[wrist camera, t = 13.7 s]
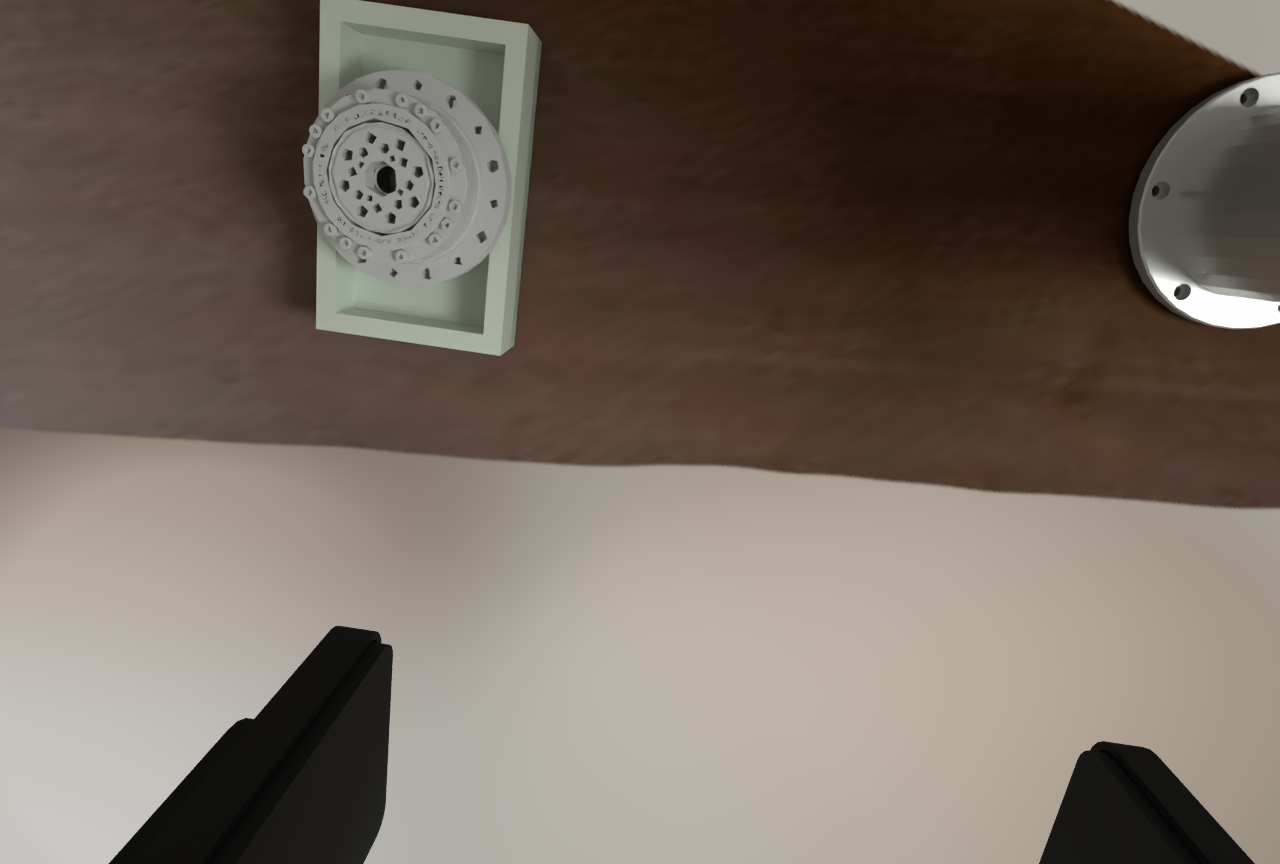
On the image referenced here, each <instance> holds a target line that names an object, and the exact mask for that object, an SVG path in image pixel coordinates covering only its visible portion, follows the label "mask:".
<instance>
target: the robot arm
mask: <svg viewBox="0 0 1280 864" xmlns="http://www.w3.org/2000/svg"><path fill="white" fill-rule="evenodd" d="M1153 188H1154V193H1153V195H1152V189H1153ZM1129 243H1130V248H1131V252H1132V257H1133V261H1134V264H1135V267H1136V269H1137V271H1138V273H1139V275H1140V277H1141V279H1142V281H1143V283H1144V284H1145V286H1146V287H1147V288H1148V290H1149V291H1150V292H1151V293H1152V295H1153V296H1154V297H1155V298H1156V299H1157V300H1158V301H1159V302H1160V303H1162V304H1163V305H1164V306H1165V307H1167V308H1168V309H1169V310H1170V311H1172V312H1173V313H1176V314H1178V315H1180V316H1182V317H1184V318H1186V319H1188V320H1190V321H1193V322H1197V323H1201V324H1205V325H1209V326H1214V327H1221V328H1228V329H1252V328H1261V327H1265V326H1270V325H1275V324H1279V323H1280V73H1274V74H1268V75H1263V76H1259V77H1256V78H1252V79H1249V80H1245V81H1241V82H1238V83H1236V84H1234V85H1232V86H1230V87H1227V88H1225V89H1223V90H1221V91H1218V92H1216V93H1214V94H1213V95H1211V96H1210V97H1208V98H1207V99H1205V100H1204V101H1202V102H1201V103H1199V104H1198V105H1196V106H1195V107H1193V108H1192V109H1191V110H1189V111H1188V112H1187V113H1186V114H1185V115H1184V116H1183V117H1182V118H1181V119H1180V120H1179V121H1177V122H1176V123H1175V124H1174V125H1173V126H1172V127H1171V128H1170V129H1169V131H1168V132H1167V133H1166V135H1165V136H1164V137H1163V138H1162V140H1161V141H1160V142H1159V143H1158V145H1157V146H1156V147H1155V148H1154V150H1153V152H1152V154H1151V155H1150V157H1149V159H1148V161H1147V163H1146V164H1145V166H1144V168H1143V170H1142V172H1141V174H1140V177H1139V180H1138V183H1137V185H1136V188H1135V191H1134V194H1133V198H1132V204H1131V209H1130V215H1129ZM1174 290H1175V292H1174ZM392 661H393V650H392V646H391V645H388V644H381V637H380V634H379V633H378V632H376V631H369V630H363V629H356V628H350V627H343V626H335V627H334V628H332V629H331V630H330V631H329V633H328V634H327V635H326V636H325V637H324V638H323V639H322V641H321V642H320V643H319V644H318V645H317V646H316V648H315V649H314V650H313V651H312V652H311V654H310V655H309V656H308V657H307V658H306V659H305V661H304V662H303V663H302V664H301V665H300V666H299V667H298V669H297V670H296V671H295V672H294V673H293V675H292V676H291V677H290V678H289V679H288V680H287V682H286V683H285V684H284V685H283V686H282V687H281V689H280V690H279V691H278V692H277V693H276V694H275V696H274V697H273V698H272V699H271V700H270V701H269V703H268V704H267V705H266V706H265V707H264V708H263V709H262V711H261V712H260V713H259V714H258V715H257V717H256V718H255V719H248V718H245V719H242V720H240V721H237V722H236V723H235V724H234V725H233V726H232V727H231V728H230V729H229V730H227V732H226V733H225V734H224V735H223V736H222V737H221V738H220V740H219V741H218V742H217V743H216V744H215V745H214V746H213V748H211V750H210V751H209V752H208V753H207V754H206V755H205V756H204V757H203V759H202V760H201V761H200V762H199V763H198V764H197V765H196V766H195V767H194V769H193V770H192V771H191V772H190V773H189V774H188V775H187V776H186V778H185V779H184V780H183V781H182V782H181V783H180V784H179V785H178V787H177V788H176V789H175V790H174V791H173V792H172V793H171V794H170V796H169V797H168V798H167V799H166V800H165V801H164V802H163V803H162V805H161V806H160V807H159V808H158V809H157V810H156V811H155V812H154V814H153V815H152V816H151V817H150V818H149V819H148V820H147V821H146V822H145V824H144V825H143V826H142V827H141V828H140V829H139V830H138V832H137V833H136V834H135V835H134V836H133V837H132V838H131V839H130V841H129V842H128V843H127V844H126V845H125V846H124V847H123V848H122V850H121V851H120V852H119V853H118V854H117V855H116V856H115V857H114V858H113V860H112V861H111V862H110V863H109V864H363V863H364V861H365V859H366V857H367V855H368V853H369V851H370V849H371V847H372V845H373V843H374V841H375V838H376V837H377V834H378V832H379V829H380V826H381V824H382V820H383V815H384V811H385V804H386V784H387V764H388V743H389V742H388V741H389V723H390V722H389V721H390V701H391V681H392ZM1039 864H1254V862H1253V861H1252V860H1251V859H1250V858H1249V857H1248V856H1247V855H1246V853H1245V852H1244V851H1243V850H1242V849H1241V848H1240V847H1239V846H1238V845H1237V844H1236V842H1235V841H1234V840H1233V839H1232V838H1231V837H1230V836H1229V835H1228V834H1227V832H1226V831H1225V830H1224V829H1223V828H1222V827H1221V826H1220V825H1219V824H1218V822H1217V821H1216V820H1215V819H1214V818H1213V817H1212V816H1211V815H1210V814H1209V812H1208V811H1207V810H1206V809H1205V808H1204V807H1203V806H1202V805H1201V804H1200V803H1199V801H1198V800H1197V799H1196V798H1195V797H1194V796H1193V795H1192V794H1191V792H1190V791H1189V790H1188V789H1187V788H1186V787H1185V786H1184V785H1183V784H1182V783H1181V781H1180V780H1179V779H1178V778H1177V777H1176V776H1175V775H1174V774H1173V773H1172V771H1171V770H1170V769H1169V768H1168V767H1167V766H1166V765H1165V764H1164V763H1163V761H1162V760H1161V759H1160V758H1159V757H1158V756H1157V755H1156V754H1155V753H1154V752H1152V751H1151V750H1150V749H1147V748H1144V747H1138V746H1131V745H1124V744H1118V743H1111V742H1105V741H1103V742H1098V743H1096V744H1095V745H1094V746H1093V747H1092V748H1091V750H1090V751H1084V752H1083V753H1082V754H1081V755H1080V757H1079V758H1078V760H1077V763H1076V766H1075V768H1074V771H1073V774H1072V776H1071V779H1070V782H1069V784H1068V788H1067V790H1066V793H1065V795H1064V798H1063V801H1062V804H1061V806H1060V809H1059V812H1058V814H1057V817H1056V820H1055V822H1054V825H1053V828H1052V830H1051V833H1050V836H1049V839H1048V841H1047V844H1046V847H1045V849H1044V852H1043V855H1042V857H1041V860H1040V863H1039Z"/></svg>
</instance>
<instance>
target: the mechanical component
mask: <svg viewBox="0 0 1280 864" xmlns="http://www.w3.org/2000/svg"><path fill="white" fill-rule="evenodd" d="M386 83H387V86H388V87H387V88H386V89H384V87H385V85H386ZM421 86H422V87H421ZM454 100H457V102H458V104H457V105H455V106H454V107H453V101H454ZM481 129H482V131H481V134H480V132H479V131H480V130H481ZM309 132H310V136H309V139H308V142H307V144H305V145H303V147H302V152H303V154H304V158H303V162H304V180H305V188H304V191H303V193H304V195H305V196H306V197H307V198H308V200H309V203H310V206H311V208H312V211H313V214H314V217H315V219H316V221H317V223H318V225H319V226H320V228H321V230H322V232H323V233H324V235H325V237H326V238H327V240H328V241H329V242H330V243H331V245H332V246H333V247H334V248H335V249H336V250H337V251H338V252H339V254H340V255H341V256H342V257H343V258H345V259H346V260H347V261H349V262H350V263H351V264H353V265H354V266H355V267H356V268H358V269H359V270H360V271H362V272H363V273H365V274H368V275H370V276H372V277H375V278H377V279H380V280H382V281H385V282H387V283H390V284H398V285H406V286H414V287H422V286H427V285H432V284H437V283H441V282H445V281H449V280H451V279H453V278H455V277H458V276H460V275H462V274H464V273H466V272H468V271H469V270H471V269H472V268H474V267H475V266H476V265H478V264H479V263H481V262H482V261H483V259H484V258H485V257H486V256H487V255H488V254H489V252H490V251H491V250H492V249H493V247H494V245H495V243H496V242H497V240H498V238H499V236H500V234H501V232H502V230H503V228H504V226H505V224H506V221H507V216H508V211H509V205H510V200H511V174H510V169H509V165H508V160H507V155H506V152H505V150H504V148H503V145H502V143H501V141H500V138H499V136H498V134H497V132H496V130H495V129H494V127H493V126H492V124H491V123H490V122H489V120H488V119H487V118H486V116H485V115H484V114H483V112H482V111H481V110H480V108H479V107H478V106H477V104H476V103H474V102H473V101H472V100H470V99H469V98H468V97H466V96H465V95H464V94H462V93H461V92H460V91H458V90H456V89H455V88H453V87H451V86H450V85H448V84H446V83H444V82H442V81H440V80H438V79H436V78H434V77H432V76H430V75H428V74H422V73H417V72H411V71H405V70H390V71H379V72H375V73H372V74H369V75H365V76H362V77H359V78H357V79H355V80H354V81H352V82H351V83H349V84H347V85H346V86H344V87H343V88H341V89H340V90H339V91H338V92H337V93H336V94H335V95H334V96H333V97H332V98H331V99H330V100H329V101H328V102H327V103H326V104H325V106H324V108H323V109H322V111H321V112H320V114H319V115H318V117H317V118H316V120H315V122H314V125H311V126H310V129H309ZM493 163H498V167H499V169H497V170H496V171H495V172H494V169H493ZM496 201H497V204H498V207H495V202H496ZM483 232H484V233H485V235H486V237H487V239H486V240H485V241H484V240H483V238H482V237H481V235H482V233H483ZM460 259H461V263H460ZM429 269H431V271H432V274H433V276H432V277H430V274H429ZM397 272H398V273H397Z"/></svg>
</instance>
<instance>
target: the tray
mask: <svg viewBox="0 0 1280 864" xmlns="http://www.w3.org/2000/svg"><path fill="white" fill-rule="evenodd" d="M541 46H542V42H541V40H540V39H539V38H538V36H537V35H536V34H535V32H534V31H533V30H532V28H531V27H530V26H529V24H523V23H516V22H509V21H502V20H495V19H488V18H481V17H474V16H466V15H459V14H452V13H445V12H438V11H431V10H424V9H417V8H410V7H403V6H396V5H389V4H382V3H375V2H368V1H361V0H320V51H319V114H320V112H321V111H322V109H323V108H324V106H325V104H326V103H327V102H328V101H329V100H330V99H331V98H332V97H333V96H334V95H335V94H336V93H337V92H338V91H339V90H340V89H341V88H343V87H344V86H346V85H347V84H349V83H351V82H352V81H354V80H355V79H357V78H359V77H362V76H365V75H369V74H372V73H375V72H379V71H390V70H405V71H411V72H417V73H422V74H428V75H430V76H432V77H434V78H436V79H438V80H440V81H442V82H444V83H446V84H448V85H450V86H451V87H453V88H455V89H456V90H458V91H460V92H461V93H462V94H464V95H465V96H466V97H468V98H469V99H470V100H472V101H473V102H474V103H476V104H477V106H478V107H479V108H480V110H481V111H482V112H483V114H484V115H485V116H486V118H487V119H488V120H489V122H490V123H491V124H492V126H493V127H494V129H495V130H496V132H497V134H498V136H499V138H500V141H501V143H502V145H503V148H504V150H505V152H506V155H507V160H508V165H509V169H510V174H511V200H510V205H509V211H508V216H507V221H506V224H505V226H504V228H503V230H502V232H501V234H500V236H499V238H498V240H497V242H496V243H495V245H494V247H493V249H492V250H491V251H490V252H489V254H488V255H487V256H486V257H485V258H484V259H483V261H482V262H481V263H479V264H478V265H476V266H475V267H474V268H472V269H471V270H469V271H468V272H466V273H464V274H462V275H460V276H458V277H455V278H453V279H451V280H449V281H445V282H441V283H437V284H432V285H427V286H422V287H414V286H406V285H398V284H390V283H387V282H385V281H382V280H380V279H377V278H375V277H372V276H370V275H368V274H365V273H363V272H362V271H360V270H359V269H358V268H356V267H355V266H354V265H353V264H351V263H350V262H349V261H347V260H346V259H345V258H343V257H342V256H341V255H340V254H339V252H338V251H337V250H336V249H335V248H334V247H333V246H332V245H331V243H330V242H329V241H328V240H327V238H326V237H325V235H324V233H323V232H322V230H321V228H320V226H319V225H318V223H317V289H316V329H321V330H328V331H335V332H341V333H348V334H355V335H362V336H369V337H376V338H382V339H389V340H396V341H403V342H410V343H416V344H423V345H430V346H437V347H444V348H451V349H457V350H464V351H471V352H478V353H485V354H491V355H498V356H501V355H502V354H503V353H505V352H506V351H507V350H509V349H510V348H511V347H513V346H514V344H515V333H516V322H517V311H518V300H519V289H520V278H521V267H522V256H523V245H524V234H525V223H526V212H527V201H528V189H529V178H530V167H531V156H532V145H533V134H534V123H535V112H536V101H537V90H538V79H539V68H540V57H541ZM387 87H388V86H387V83H386V85H385V87H384V89H386V88H387ZM421 87H422V86H421ZM457 104H458V102H457V100H454V101H453V107H454V106H455V105H457ZM481 131H482V129H481V130H480V131H479V132H480V134H481ZM493 169H494V172H495V171H496V170H497V169H499V167H498V163H493ZM495 207H498V204H497V201H496V202H495ZM481 237H482V238H483V240H484V241H485V240H486V239H487V237H486V235H485V233H484V232H483V233H482V235H481ZM460 263H461V259H460ZM397 273H398V272H397ZM429 274H430V277H432V276H433V274H432V271H431V269H429Z"/></svg>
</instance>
